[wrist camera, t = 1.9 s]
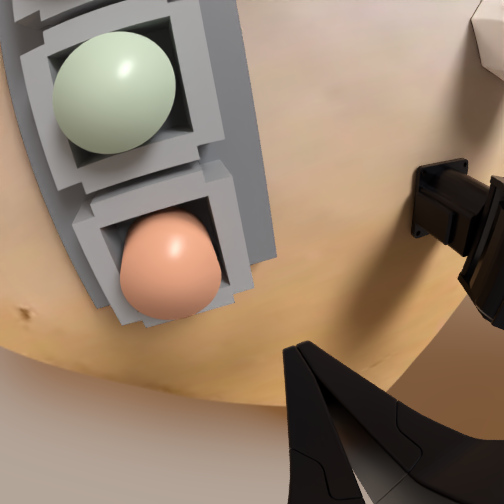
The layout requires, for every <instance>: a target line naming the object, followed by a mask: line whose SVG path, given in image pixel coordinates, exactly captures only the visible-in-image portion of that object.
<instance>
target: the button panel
mask: <svg viewBox="0 0 504 504" xmlns="http://www.w3.org/2000/svg"><path fill="white" fill-rule="evenodd" d="M110 32H131V33H135V34H139V35H142V36H144V37H146V38H148V39H150V40H151V41H153V42H154V43H155V44H157V45H158V46H159V47H160V48H161V49H162V50H163V51H164V53H165V54H166V56H167V57H168V59H169V61H170V63H171V65H172V68H173V71H174V75H175V98H174V102H173V105H172V108H171V111H170V113H169V115H168V117H167V119H166V121H165V122H164V123H163V125H162V126H161V128H160V129H159V130H158V131H157V132H156V133H155V134H154V135H153V136H152V137H151V138H150V139H149V140H147V141H146V142H144V143H143V144H141V145H139V146H137V147H135V148H133V149H131V150H128V151H125V152H121V153H115V154H100V153H94V152H91V151H87V150H85V149H83V148H81V147H79V146H77V145H76V144H74V143H73V142H72V141H71V140H69V139H68V138H67V136H66V135H65V134H64V133H63V131H62V130H61V129H60V127H59V125H58V123H57V121H56V118H55V115H54V110H53V102H52V97H53V88H54V83H55V80H56V77H57V74H58V72H59V70H60V68H61V66H62V65H63V63H64V62H65V60H66V59H67V58H68V57H69V55H70V54H71V53H72V52H73V51H74V50H75V49H76V48H78V47H79V46H80V45H82V44H83V43H84V42H86V41H88V40H90V39H91V38H94V37H96V36H99V35H102V34H105V33H110ZM0 42H1V49H2V55H3V61H4V66H5V71H6V76H7V81H8V86H9V90H10V94H11V99H12V103H13V107H14V111H15V114H16V118H17V122H18V125H19V129H20V132H21V135H22V139H23V142H24V145H25V148H26V151H27V154H28V157H29V160H30V163H31V166H32V169H33V172H34V175H35V177H36V180H37V183H38V185H39V188H40V191H41V193H42V196H43V198H44V201H45V203H46V206H47V208H48V211H49V213H50V215H51V218H52V220H53V222H54V225H55V227H56V229H57V231H58V234H59V236H60V238H61V240H62V242H63V244H64V247H65V249H66V251H67V253H68V255H69V257H70V259H71V261H72V263H73V265H74V267H75V269H76V271H77V273H78V275H79V277H80V279H81V281H82V282H83V284H84V286H85V288H86V290H87V292H88V294H89V295H90V297H91V299H92V301H93V303H94V304H95V306H96V308H97V309H98V308H102V307H105V306H109V305H111V307H112V309H113V310H114V312H115V314H116V316H117V318H118V319H119V321H120V323H121V325H126V324H130V323H134V322H137V321H141V320H142V321H143V323H144V325H145V327H146V328H147V327H151V326H155V325H158V324H162V323H166V322H169V321H173V320H161V319H155V318H152V317H149V316H146V315H144V314H142V313H141V312H139V311H137V310H136V309H135V308H134V307H133V306H131V305H130V303H129V302H128V301H127V300H126V298H125V296H124V294H123V292H122V289H121V285H120V272H121V264H122V257H123V249H124V243H125V237H126V234H127V231H128V229H129V227H130V226H131V224H132V223H133V222H134V221H135V220H136V219H137V218H138V217H139V216H140V215H143V214H146V213H150V212H153V211H156V210H160V209H163V208H167V207H170V206H173V207H179V208H183V209H185V210H188V211H190V212H191V213H193V214H195V215H196V216H197V217H198V218H199V219H200V220H201V221H202V222H203V223H204V225H205V226H206V228H207V230H208V233H209V236H210V239H211V242H212V245H213V248H214V251H215V254H216V257H217V260H218V262H219V265H220V269H221V284H220V287H219V290H218V292H217V294H216V296H215V297H214V299H213V300H212V301H211V303H210V304H209V305H208V306H206V307H205V308H204V309H203V310H201V311H200V312H198V313H201V312H205V311H208V310H212V309H215V308H218V307H222V306H225V305H229V304H232V303H235V301H234V297H233V294H236V293H239V292H242V291H246V290H249V289H252V288H254V283H253V278H252V273H251V268H250V265H252V264H255V263H259V262H262V261H265V260H269V259H272V258H275V257H277V254H276V247H275V239H274V232H273V225H272V218H271V211H270V204H269V197H268V191H267V184H266V177H265V171H264V164H263V158H262V151H261V145H260V138H259V132H258V126H257V120H256V113H255V107H254V101H253V95H252V89H251V83H250V77H249V71H248V66H247V60H246V54H245V48H244V43H243V37H242V32H241V26H240V21H239V15H238V10H237V5H236V0H0ZM198 313H196V314H198ZM176 320H177V319H176Z"/></svg>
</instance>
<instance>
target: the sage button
mask: <svg viewBox="0 0 504 504" xmlns="http://www.w3.org/2000/svg"><path fill="white" fill-rule="evenodd" d="M174 98H175V75H174V71H173V68H172V65H171V63H170V61H169V59H168V57H167V56H166V54H165V53H164V51H163V50H162V49H161V48H160V47H159V46H158V45H157V44H155V43H154V42H153V41H151V40H150V39H148V38H146V37H144V36H142V35H139V34H135V33H131V32H110V33H105V34H102V35H99V36H96V37H94V38H91V39H90V40H88V41H86V42H84V43H83V44H82V45H80V46H79V47H78V48H76V49H75V50H74V51H73V52H72V53H71V54H70V55H69V57H68V58H67V59H66V60H65V62H64V63H63V65H62V66H61V68H60V70H59V72H58V74H57V77H56V80H55V83H54V88H53V97H52V102H53V110H54V115H55V118H56V121H57V123H58V125H59V127H60V129H61V130H62V131H63V133H64V134H65V135H66V136H67V138H68V139H69V140H71V141H72V142H73V143H74V144H76V145H77V146H79V147H81V148H83V149H85V150H87V151H91V152H94V153H100V154H115V153H121V152H125V151H128V150H131V149H133V148H135V147H137V146H139V145H141V144H143V143H144V142H146V141H147V140H149V139H150V138H151V137H152V136H153V135H154V134H155V133H156V132H157V131H158V130H159V129H160V128H161V126H162V125H163V123H164V122H165V121H166V119H167V117H168V115H169V113H170V111H171V108H172V105H173V102H174Z"/></svg>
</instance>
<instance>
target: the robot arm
mask: <svg viewBox="0 0 504 504" xmlns="http://www.w3.org/2000/svg"><path fill="white" fill-rule="evenodd" d="M422 172H423V173H422ZM467 172H468V160H467V159H464V158H460V159H454V160H449V161H444V162H438V163H433V164H428V165H423V166H420V167H419V168H418V169H417V172H416V188H415V201H414V212H413V222H412V231H411V234H412V236H413V237H415V238H420V237H422V236H425V235H428V234H431V235H432V236H434V237H435V238H436V239H438V240H439V241H440V242H442V243H443V244H444V245H448V246H450V247H451V248H452V249H453V250H455V251H456V252H457V253H459V254H460V255H461V256H462V257H466V256H467V259H466V261H465V264H464V266H463V269H462V271H461V272H460V274H459V276H458V280H459V282H460V283H461V285H462V286H463V288H464V289H465V291H466V292H467V294H468V295H469V297H470V298H471V300H472V301H473V303H474V305H475V306H476V308H477V309H478V311H479V312H480V313H481V315H482V316H483V318H484V319H486V320H488V321H489V322H491V324H492V325H493V326H495V327H498V328H500V329H503V330H504V177H499V176H493V175H492V176H491V180H490V183H491V184H490V187H489V186H487V185H485V184H483V183H482V182H480V181H478V180H476V179H474V178H472V177H470V176H468V175H467ZM283 364H284V378H285V392H286V406H287V420H288V421H287V422H288V438H289V449H290V450H289V456H290V484H289V496H288V504H365V501H364V499H363V498H362V497H363V496H362V493H361V491H360V488H359V486H358V483H357V480H356V478H355V475H354V473H353V470H354V472H355V474H356V475H357V477H358V479H359V481H360V482H361V484H362V485H363V487H364V489H365V490H366V492H367V494H368V495H369V497H370V498H371V500H372V502H373V503H374V504H504V440H482V439H476V438H473V437H469V436H467V435H464V434H462V433H460V432H458V431H455V430H453V429H451V428H449V427H446V426H444V425H442V424H440V423H438V422H435V421H433V420H431V419H429V418H427V417H425V416H423V415H421V414H420V413H418V412H416V411H414V410H413V409H411V408H409V407H408V406H406V405H404V404H403V403H402V402H400V401H397V400H396V399H395V398H394V397H392V396H391V395H389V394H387V393H386V392H385V391H383V390H382V389H380V388H378V387H377V386H375V385H374V384H372V383H371V382H369V381H368V380H366V379H365V378H363V377H362V376H360V375H359V374H357V373H356V372H354V371H353V370H351V369H350V368H348V367H347V366H346V365H344V364H343V363H341V362H340V361H338V360H337V359H335V358H334V357H332V356H331V355H329V354H328V353H326V352H325V351H324V350H322V349H321V348H319V347H318V346H316V345H315V344H313V343H312V342H310V341H304V342H301V343H299V344H297V345H296V346H290V347H287V348H285V349H283ZM352 469H353V470H352Z"/></svg>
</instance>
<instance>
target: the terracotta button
mask: <svg viewBox="0 0 504 504" xmlns="http://www.w3.org/2000/svg"><path fill="white" fill-rule="evenodd" d="M220 284H221V269H220V265H219V262H218V260H217V257H216V254H215V251H214V248H213V245H212V242H211V239H210V236H209V233H208V230H207V228H206V226H205V225H204V223H203V222H202V221H201V220H200V219H199V218H198V217H197V216H196V215H195V214H193V213H191V212H190V211H188V210H185V209H183V208H179V207H173V206H170V207H167V208H163V209H160V210H156V211H153V212H150V213H146V214H143V215H140V216H139V217H138V218H137V219H136V220H135V221H134V222H133V223H132V224H131V226H130V227H129V229H128V231H127V234H126V237H125V243H124V249H123V257H122V264H121V272H120V285H121V289H122V292H123V294H124V296H125V298H126V300H127V301H128V302H129V303H130V305H131V306H133V307H134V308H135V309H136V310H137V311H139V312H141V313H142V314H144V315H146V316H149V317H152V318H155V319H161V320H176V319H182V318H186V317H189V316H192V315H194V314H196V313H198V312H200V311H201V310H203V309H204V308H205V307H206V306H208V305H209V304H210V303H211V301H212V300H213V299H214V297H215V296H216V294H217V292H218V290H219V287H220Z"/></svg>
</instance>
